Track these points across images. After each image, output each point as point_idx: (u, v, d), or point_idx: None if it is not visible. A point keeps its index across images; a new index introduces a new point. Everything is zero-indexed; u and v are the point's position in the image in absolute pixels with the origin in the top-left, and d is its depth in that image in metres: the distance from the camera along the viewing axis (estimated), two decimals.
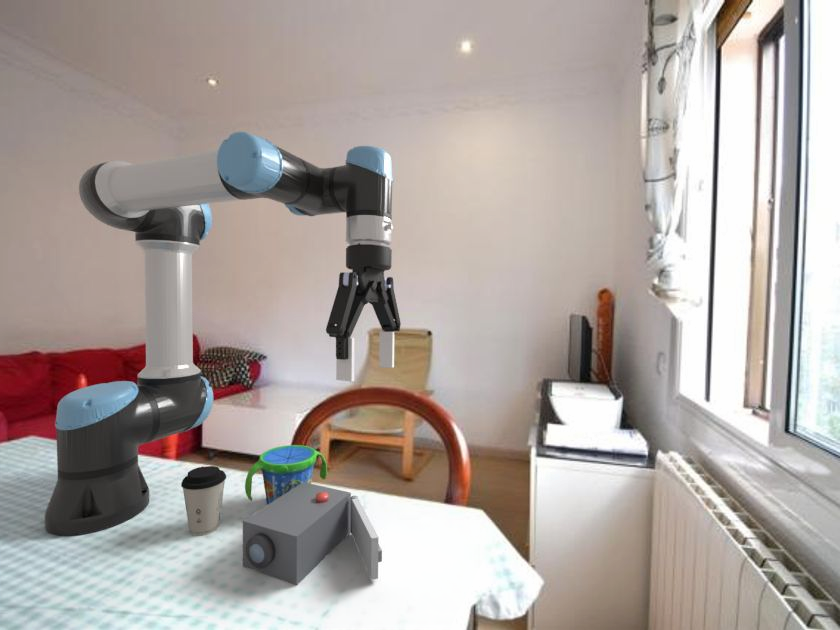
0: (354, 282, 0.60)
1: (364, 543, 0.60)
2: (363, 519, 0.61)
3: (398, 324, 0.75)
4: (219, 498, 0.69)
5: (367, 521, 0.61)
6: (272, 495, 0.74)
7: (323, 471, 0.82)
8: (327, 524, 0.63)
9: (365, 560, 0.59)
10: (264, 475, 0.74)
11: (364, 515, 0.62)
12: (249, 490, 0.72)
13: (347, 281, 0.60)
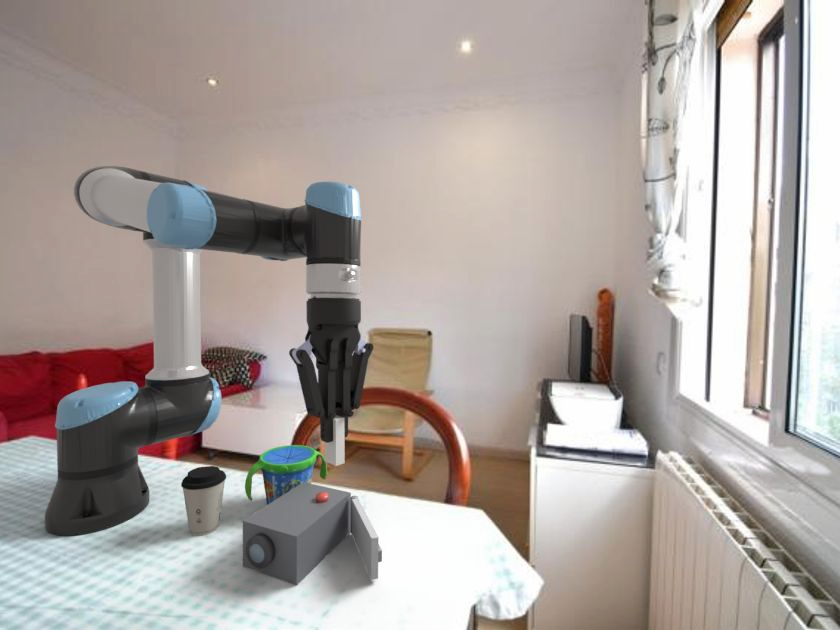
0: (306, 360, 0.52)
1: (364, 543, 0.60)
2: (363, 519, 0.61)
3: (355, 404, 0.58)
4: (219, 498, 0.69)
5: (367, 521, 0.61)
6: (272, 495, 0.74)
7: (323, 471, 0.82)
8: (327, 524, 0.63)
9: (365, 560, 0.59)
10: (264, 475, 0.74)
11: (364, 515, 0.62)
12: (249, 490, 0.72)
13: (299, 361, 0.52)
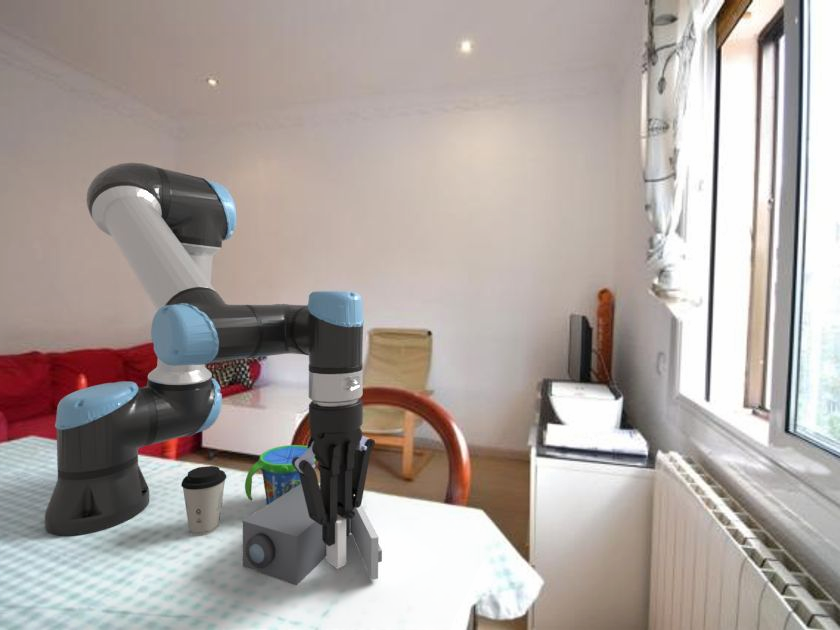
0: (309, 471, 0.53)
1: (364, 543, 0.60)
2: (363, 519, 0.61)
3: (356, 503, 0.59)
4: (220, 498, 0.69)
5: (367, 521, 0.61)
6: (272, 495, 0.74)
7: None
8: None
9: (365, 560, 0.59)
10: (264, 475, 0.74)
11: (364, 515, 0.62)
12: (249, 490, 0.72)
13: (302, 472, 0.53)
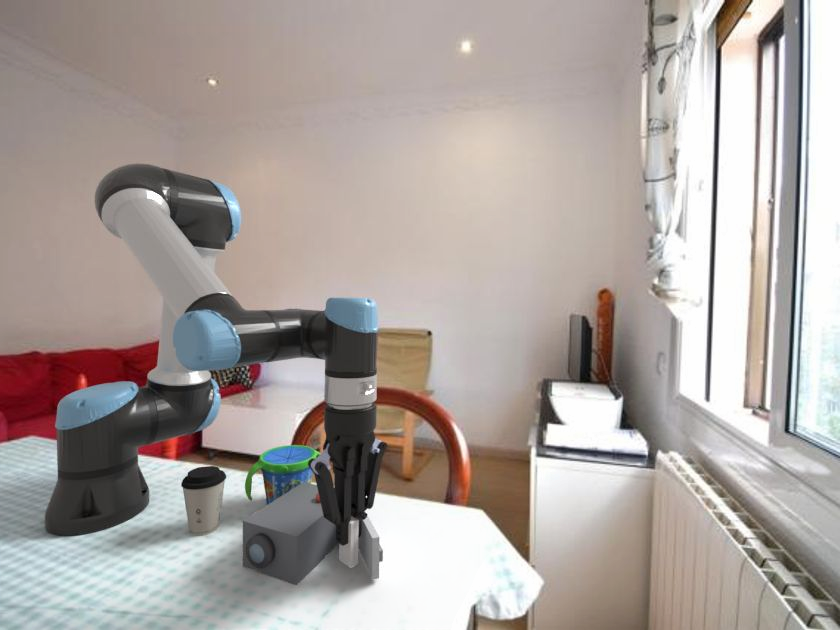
0: (324, 472, 0.54)
1: (365, 543, 0.60)
2: (364, 519, 0.61)
3: (368, 504, 0.60)
4: (219, 498, 0.69)
5: (367, 521, 0.61)
6: (272, 495, 0.74)
7: None
8: (327, 524, 0.63)
9: (366, 560, 0.59)
10: (264, 475, 0.74)
11: None
12: (249, 490, 0.72)
13: (317, 473, 0.54)
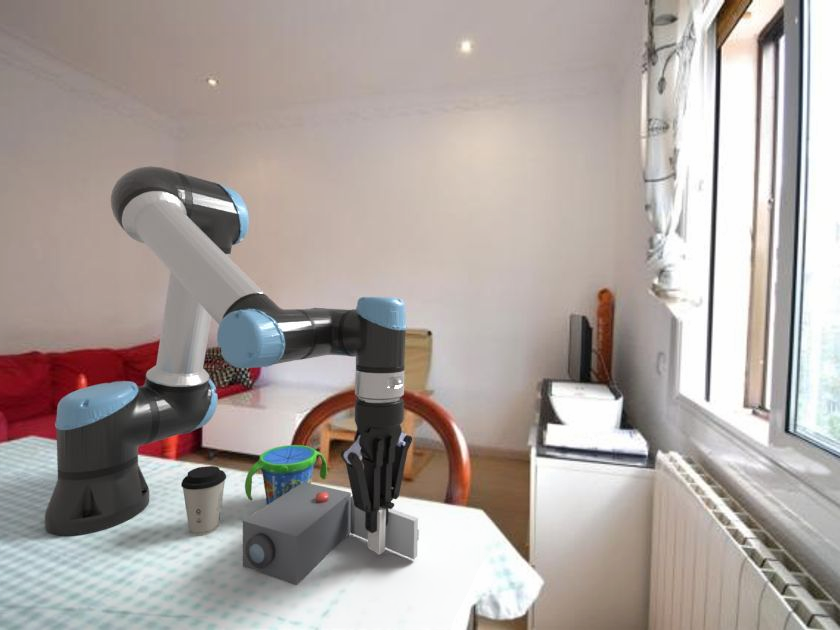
0: (356, 462, 0.57)
1: (393, 531, 0.63)
2: None
3: (395, 494, 0.63)
4: (219, 498, 0.69)
5: (392, 510, 0.64)
6: (272, 495, 0.74)
7: (323, 471, 0.82)
8: (327, 524, 0.63)
9: (396, 546, 0.63)
10: (264, 475, 0.74)
11: None
12: (249, 490, 0.72)
13: (350, 463, 0.57)
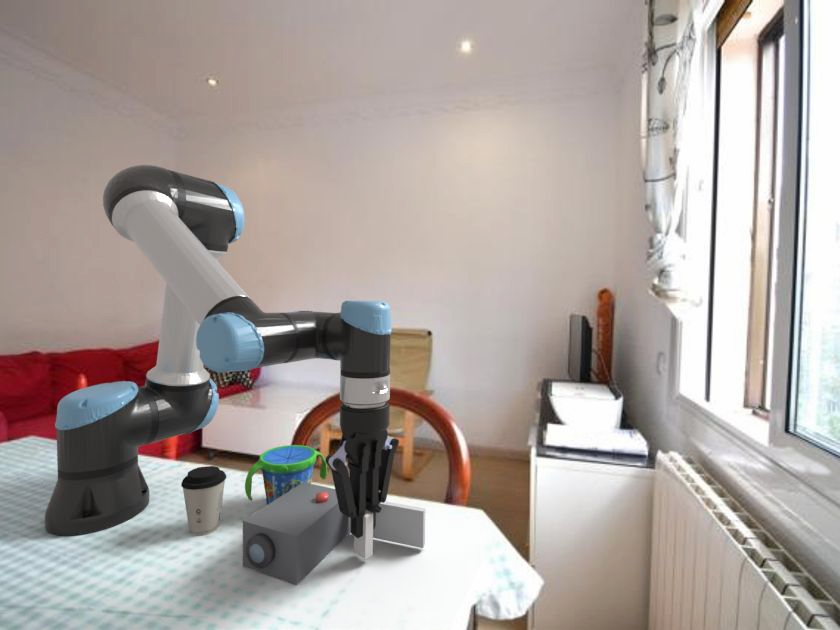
0: (341, 468, 0.56)
1: (401, 524, 0.65)
2: (393, 505, 0.66)
3: (382, 498, 0.63)
4: (219, 498, 0.69)
5: (398, 505, 0.66)
6: (272, 495, 0.74)
7: (323, 471, 0.82)
8: (327, 524, 0.63)
9: (404, 538, 0.65)
10: (264, 475, 0.74)
11: (388, 503, 0.66)
12: (249, 490, 0.72)
13: (335, 469, 0.57)
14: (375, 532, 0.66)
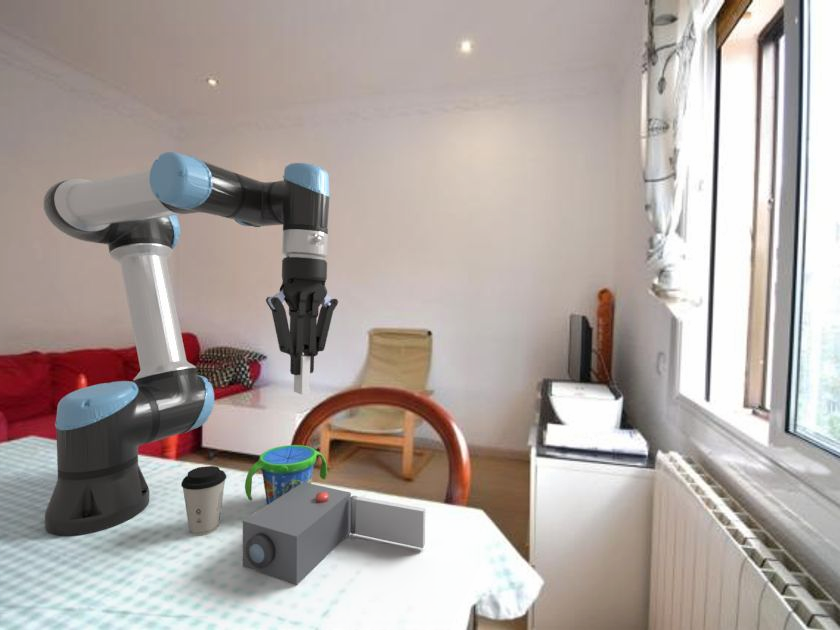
0: (279, 306, 0.65)
1: (401, 524, 0.65)
2: (393, 505, 0.66)
3: (320, 347, 0.71)
4: (220, 498, 0.69)
5: (398, 505, 0.66)
6: (272, 495, 0.74)
7: (323, 471, 0.82)
8: (327, 524, 0.63)
9: (404, 538, 0.65)
10: (264, 475, 0.74)
11: (388, 503, 0.66)
12: (249, 490, 0.72)
13: (273, 307, 0.65)
14: (375, 532, 0.66)
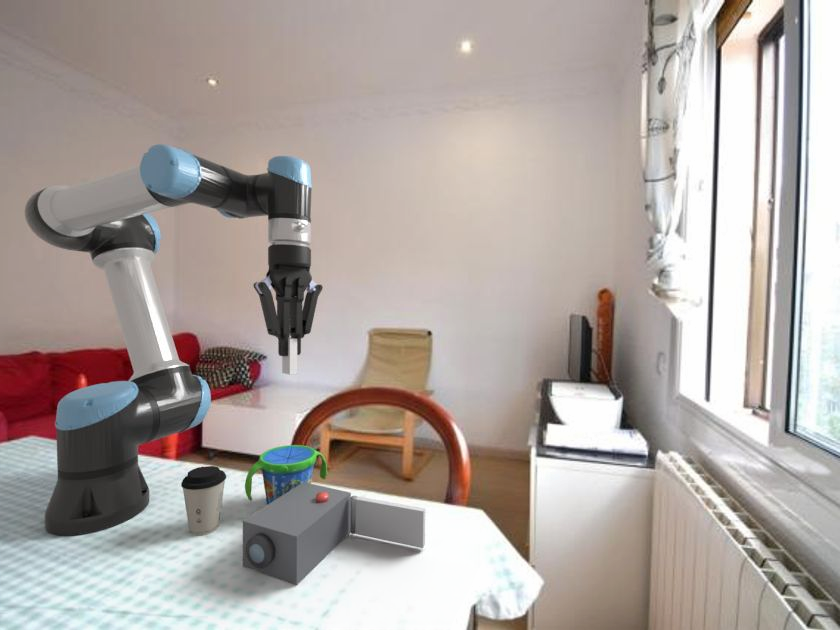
0: (266, 290, 0.69)
1: (401, 524, 0.65)
2: (393, 505, 0.66)
3: (306, 329, 0.75)
4: (219, 498, 0.69)
5: (398, 505, 0.66)
6: (272, 495, 0.74)
7: (323, 471, 0.82)
8: (327, 524, 0.63)
9: (404, 538, 0.65)
10: (264, 475, 0.74)
11: (388, 503, 0.66)
12: (249, 490, 0.72)
13: (260, 291, 0.69)
14: (375, 532, 0.66)
